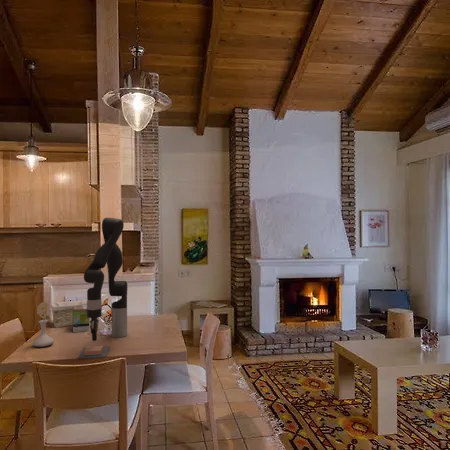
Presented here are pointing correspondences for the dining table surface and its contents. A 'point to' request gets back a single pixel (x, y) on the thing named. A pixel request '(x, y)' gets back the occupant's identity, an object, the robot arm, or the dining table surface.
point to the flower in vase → (43, 327)
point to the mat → (103, 354)
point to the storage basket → (64, 312)
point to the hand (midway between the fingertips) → (94, 340)
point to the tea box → (80, 318)
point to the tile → (93, 350)
